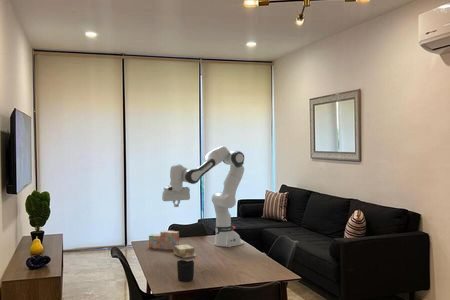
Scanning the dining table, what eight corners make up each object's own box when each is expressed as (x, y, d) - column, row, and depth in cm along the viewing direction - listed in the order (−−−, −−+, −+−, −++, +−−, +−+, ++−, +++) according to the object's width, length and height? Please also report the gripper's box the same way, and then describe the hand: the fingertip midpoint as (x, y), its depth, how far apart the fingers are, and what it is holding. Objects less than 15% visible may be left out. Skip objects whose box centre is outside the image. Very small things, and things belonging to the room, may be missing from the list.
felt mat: (188, 251, 304) (188, 251, 304) (196, 255, 293) (196, 254, 293) (175, 253, 299) (175, 252, 299) (182, 257, 288) (182, 256, 288)
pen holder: (187, 276, 248) (187, 258, 248) (197, 279, 241) (197, 262, 241) (173, 279, 242) (173, 261, 242) (183, 283, 235) (183, 265, 235)
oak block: (173, 253, 298) (187, 251, 303) (180, 257, 288) (194, 255, 292) (173, 245, 298) (187, 244, 303) (180, 249, 288) (194, 247, 292)
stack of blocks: (148, 248, 316) (148, 231, 316) (152, 246, 322) (152, 229, 322) (176, 249, 310) (176, 232, 310) (179, 247, 316) (179, 231, 316)
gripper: (187, 186, 315) (188, 205, 315) (161, 187, 305) (161, 207, 305) (191, 187, 309) (191, 206, 309) (164, 188, 299) (164, 208, 300)
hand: (176, 206), depth 307 cm, fingers closed
